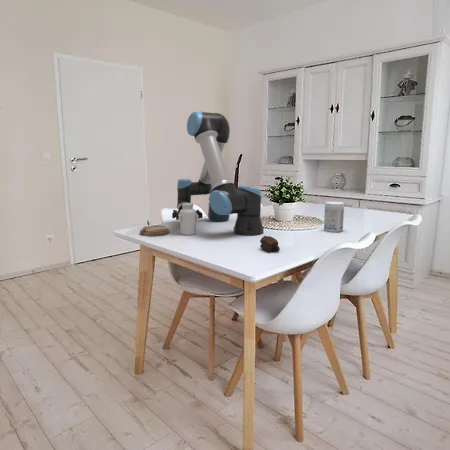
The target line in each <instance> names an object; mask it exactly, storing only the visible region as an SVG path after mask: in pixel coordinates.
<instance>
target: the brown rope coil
mask: <svg viewBox="0 0 450 450" xmlns="http://www.w3.org/2000/svg"><path fill="white" fill-rule="evenodd" d="M139 233H140V234H139V235H141V236H144V237H161V236H166V235H169V234H170V228H167V227H166V226H165V225H155V224H154V225H146V226H143V227H142V229H140V232H139Z"/></svg>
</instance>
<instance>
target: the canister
mask: <svg viewBox="0 0 450 450" xmlns="http://www.w3.org/2000/svg"><path fill="white" fill-rule="evenodd" d="M209 200H210V198H209V197H208V201H209ZM207 211H208V212H207V217H208V219H209V220H211V221H213V222H219V223H220V222H221V223H222V222H227V221H229V220H230V217H231V216H230V215H231V214H228V215H219V214H217V213H215V212H214V211H213V210H212V208H211V206H210V203H209V202H208V210H207Z"/></svg>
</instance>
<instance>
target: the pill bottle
mask: <svg viewBox="0 0 450 450" xmlns="http://www.w3.org/2000/svg"><path fill="white" fill-rule="evenodd" d="M182 208H183V209H181V210H180V215H181V222H179V232H180V233H179V234H180V235H183V236H194V235H196V233H197V221H196V210H197V209H194V203H193V202H191V203H183V204H182Z"/></svg>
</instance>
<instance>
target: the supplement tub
mask: <svg viewBox="0 0 450 450" xmlns="http://www.w3.org/2000/svg"><path fill="white" fill-rule="evenodd" d="M324 204H325V205H324V216H323V217H324V219H323V220H324V221H323V230H324V231H326V232H331V233H340V232H343V230H344V219H345V217H344V216H345V215H344V214H345V203H344V202H343V201H326V202H325V203H324Z"/></svg>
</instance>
